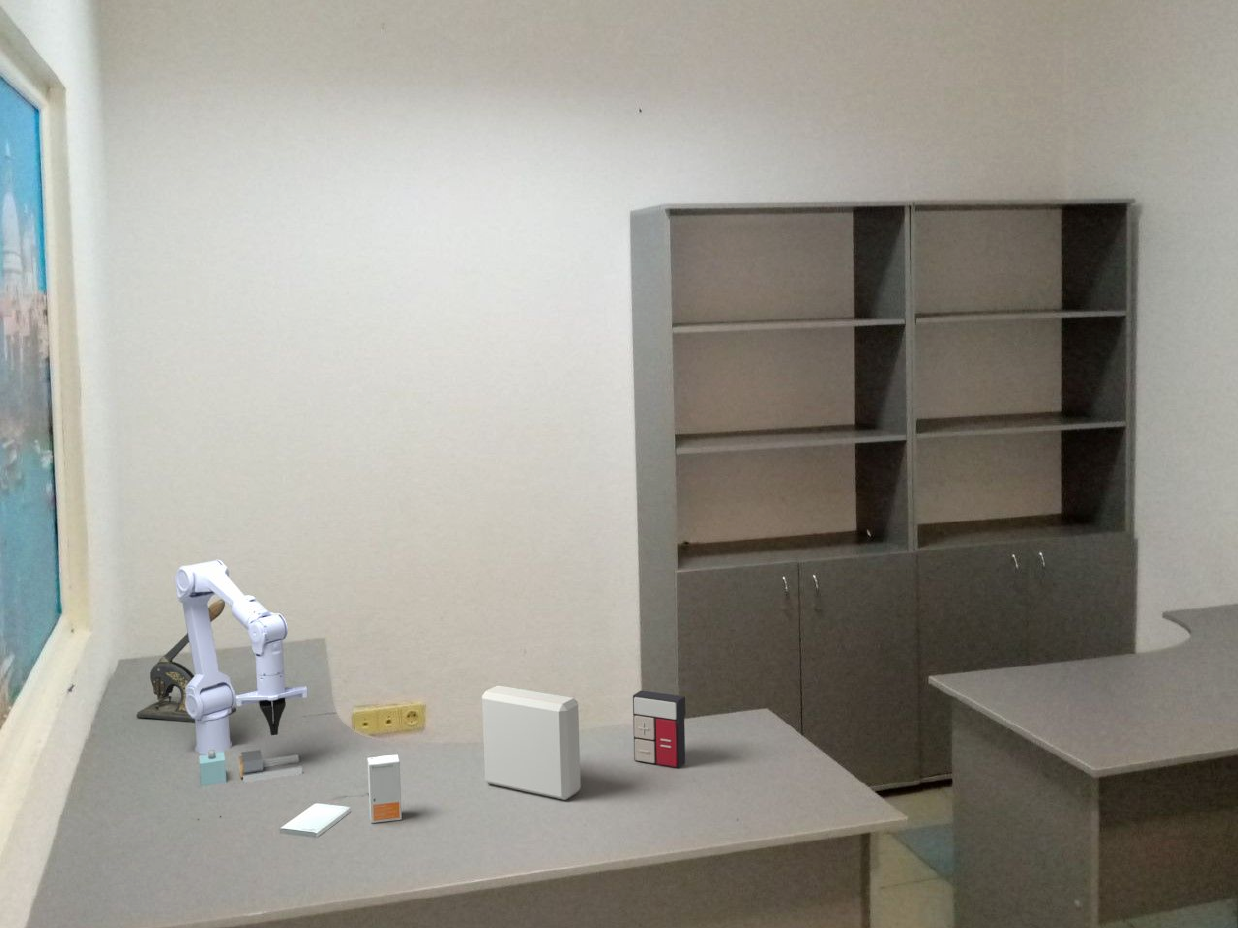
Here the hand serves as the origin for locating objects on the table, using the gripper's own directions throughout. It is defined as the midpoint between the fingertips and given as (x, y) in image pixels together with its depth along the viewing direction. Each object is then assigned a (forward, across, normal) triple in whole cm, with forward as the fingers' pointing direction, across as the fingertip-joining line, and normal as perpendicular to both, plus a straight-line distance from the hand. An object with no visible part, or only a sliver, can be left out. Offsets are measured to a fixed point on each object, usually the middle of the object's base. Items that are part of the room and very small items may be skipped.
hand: (274, 733), depth 253 cm
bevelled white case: (+10, +49, -29) cm, 58 cm away
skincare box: (+10, +18, -32) cm, 38 cm away
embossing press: (+10, -17, +52) cm, 56 cm away
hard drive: (+10, +5, -28) cm, 30 cm away
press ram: (+8, -5, 0) cm, 10 cm away
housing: (+8, -13, 0) cm, 15 cm away
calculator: (+10, +78, -27) cm, 83 cm away
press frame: (+9, -6, 0) cm, 11 cm away
